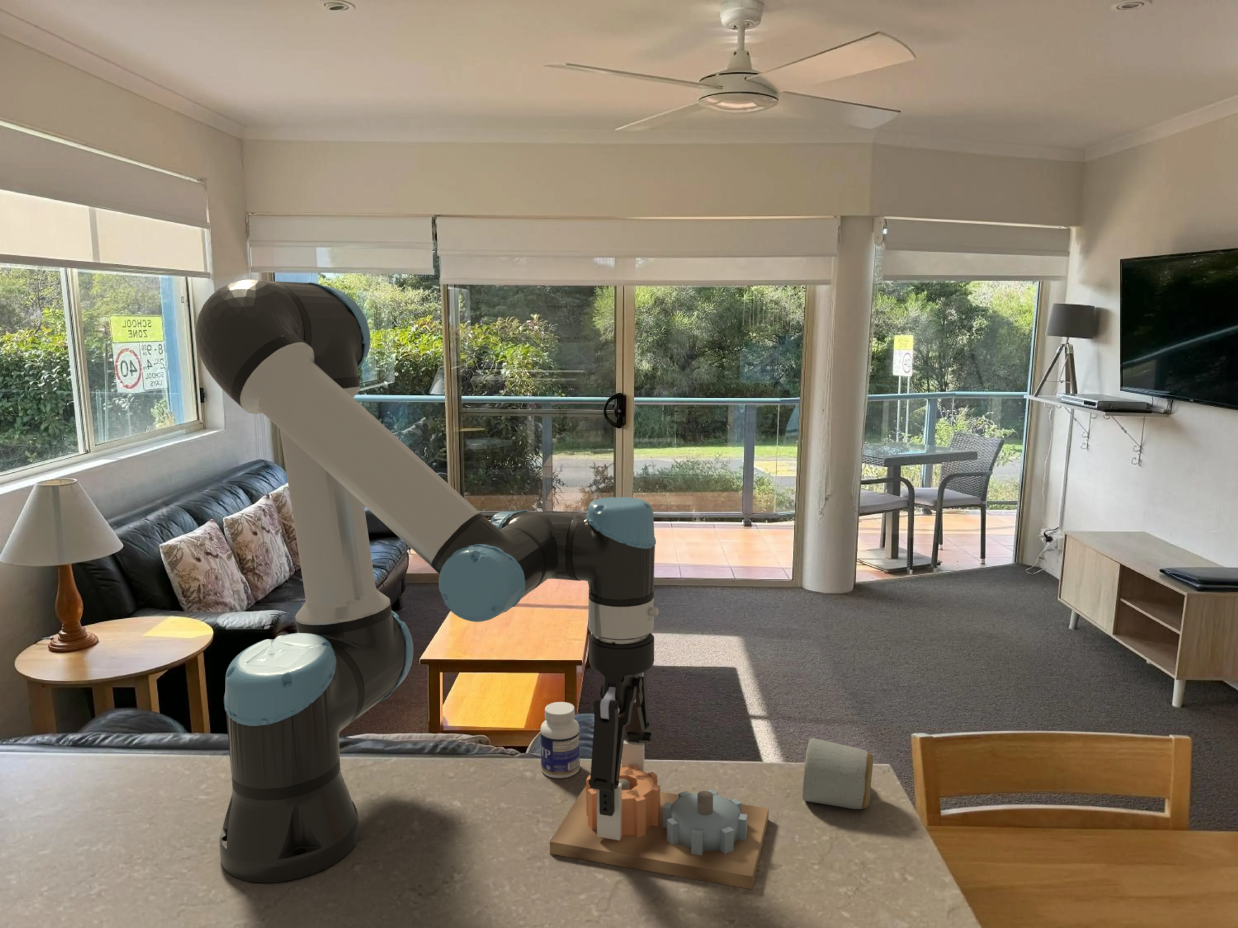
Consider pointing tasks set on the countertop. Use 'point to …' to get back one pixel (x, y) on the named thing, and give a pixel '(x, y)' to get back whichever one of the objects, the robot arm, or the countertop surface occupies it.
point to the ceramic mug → (837, 775)
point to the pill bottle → (560, 741)
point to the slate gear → (705, 823)
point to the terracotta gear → (631, 802)
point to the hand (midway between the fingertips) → (621, 813)
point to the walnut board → (665, 845)
